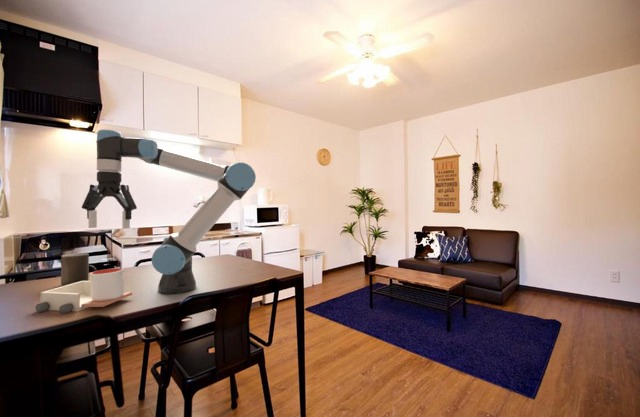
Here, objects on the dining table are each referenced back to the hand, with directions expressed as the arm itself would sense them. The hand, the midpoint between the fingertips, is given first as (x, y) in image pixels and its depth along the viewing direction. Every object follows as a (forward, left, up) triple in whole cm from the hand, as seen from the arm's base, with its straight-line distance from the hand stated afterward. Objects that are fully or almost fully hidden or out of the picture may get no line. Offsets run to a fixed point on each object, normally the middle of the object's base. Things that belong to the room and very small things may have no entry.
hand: (109, 228), depth 107 cm
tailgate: (+2, +2, -27) cm, 27 cm away
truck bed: (+10, +2, -28) cm, 30 cm away
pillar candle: (+35, -20, -29) cm, 50 cm away
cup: (-1, +2, -26) cm, 26 cm away
